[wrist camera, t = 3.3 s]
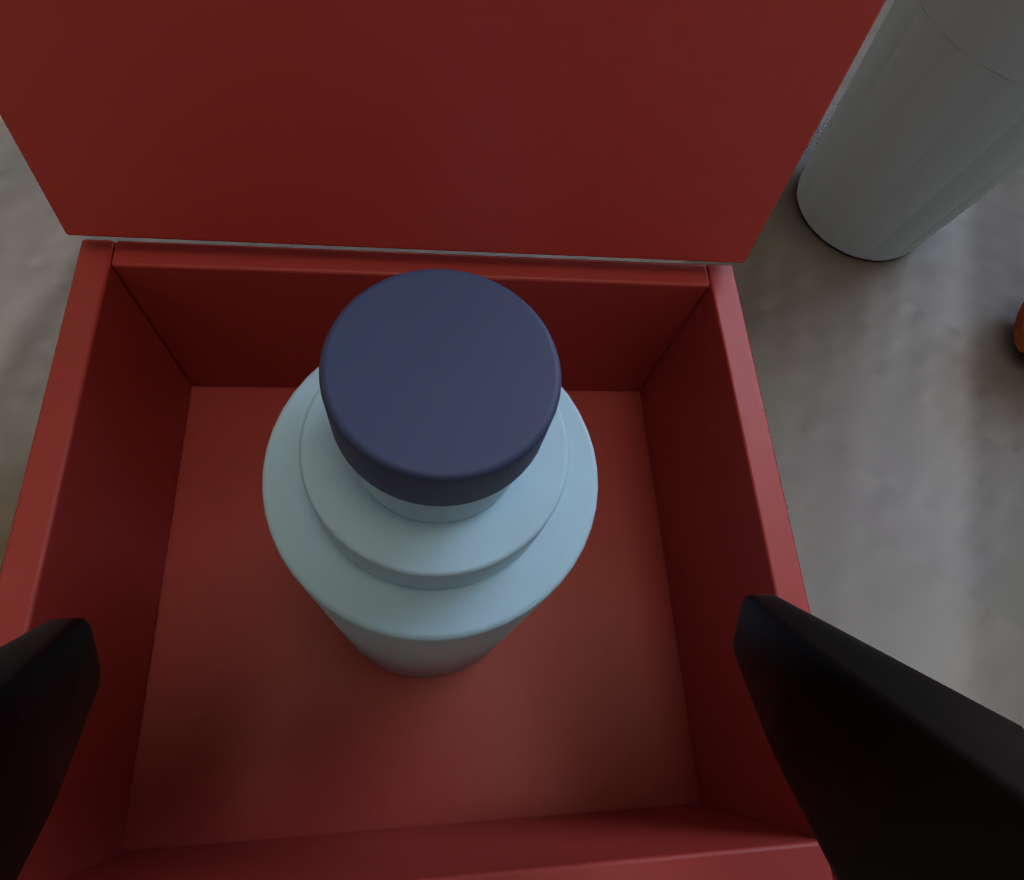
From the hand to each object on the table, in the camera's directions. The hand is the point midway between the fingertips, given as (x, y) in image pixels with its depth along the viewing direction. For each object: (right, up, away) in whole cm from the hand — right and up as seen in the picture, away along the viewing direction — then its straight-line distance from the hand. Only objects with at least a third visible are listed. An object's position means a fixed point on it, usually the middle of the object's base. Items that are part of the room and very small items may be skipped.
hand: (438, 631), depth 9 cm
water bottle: (-1, -1, +9) cm, 9 cm away
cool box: (-1, -2, +10) cm, 10 cm away
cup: (+15, +12, +18) cm, 27 cm away
